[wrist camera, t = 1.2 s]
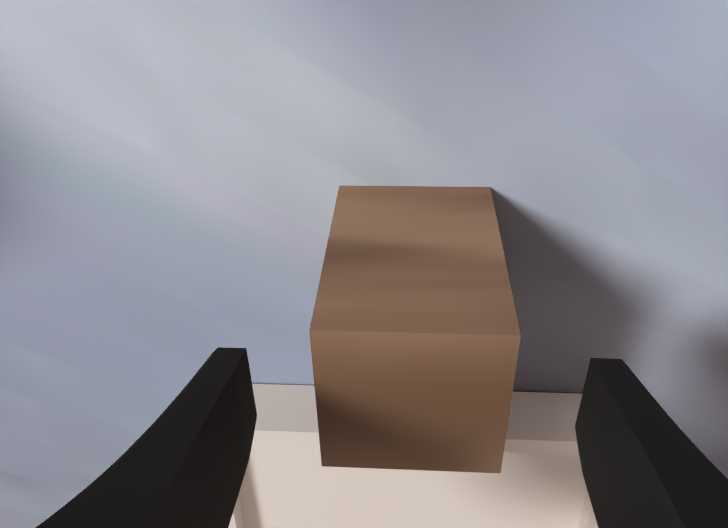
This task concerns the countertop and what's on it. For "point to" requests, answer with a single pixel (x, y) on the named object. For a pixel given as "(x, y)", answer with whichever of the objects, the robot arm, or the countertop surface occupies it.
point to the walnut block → (414, 331)
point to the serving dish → (413, 475)
